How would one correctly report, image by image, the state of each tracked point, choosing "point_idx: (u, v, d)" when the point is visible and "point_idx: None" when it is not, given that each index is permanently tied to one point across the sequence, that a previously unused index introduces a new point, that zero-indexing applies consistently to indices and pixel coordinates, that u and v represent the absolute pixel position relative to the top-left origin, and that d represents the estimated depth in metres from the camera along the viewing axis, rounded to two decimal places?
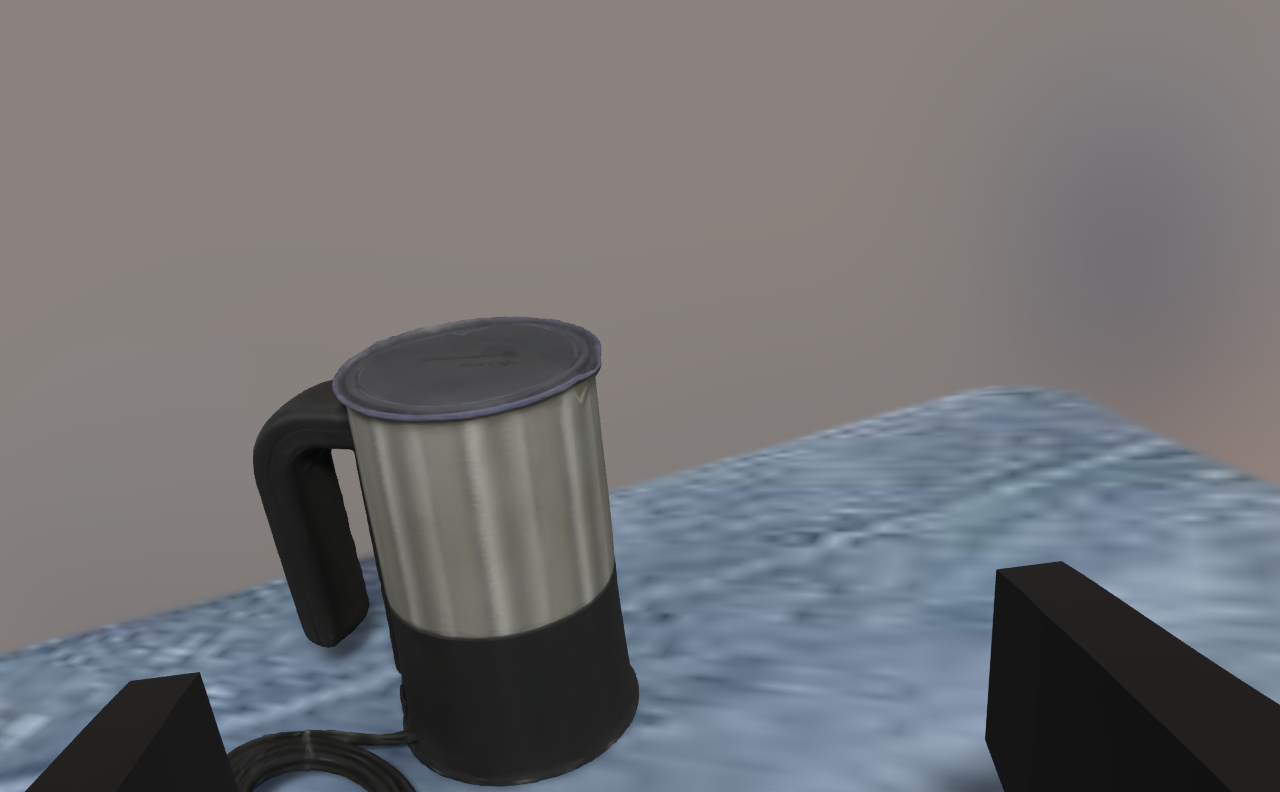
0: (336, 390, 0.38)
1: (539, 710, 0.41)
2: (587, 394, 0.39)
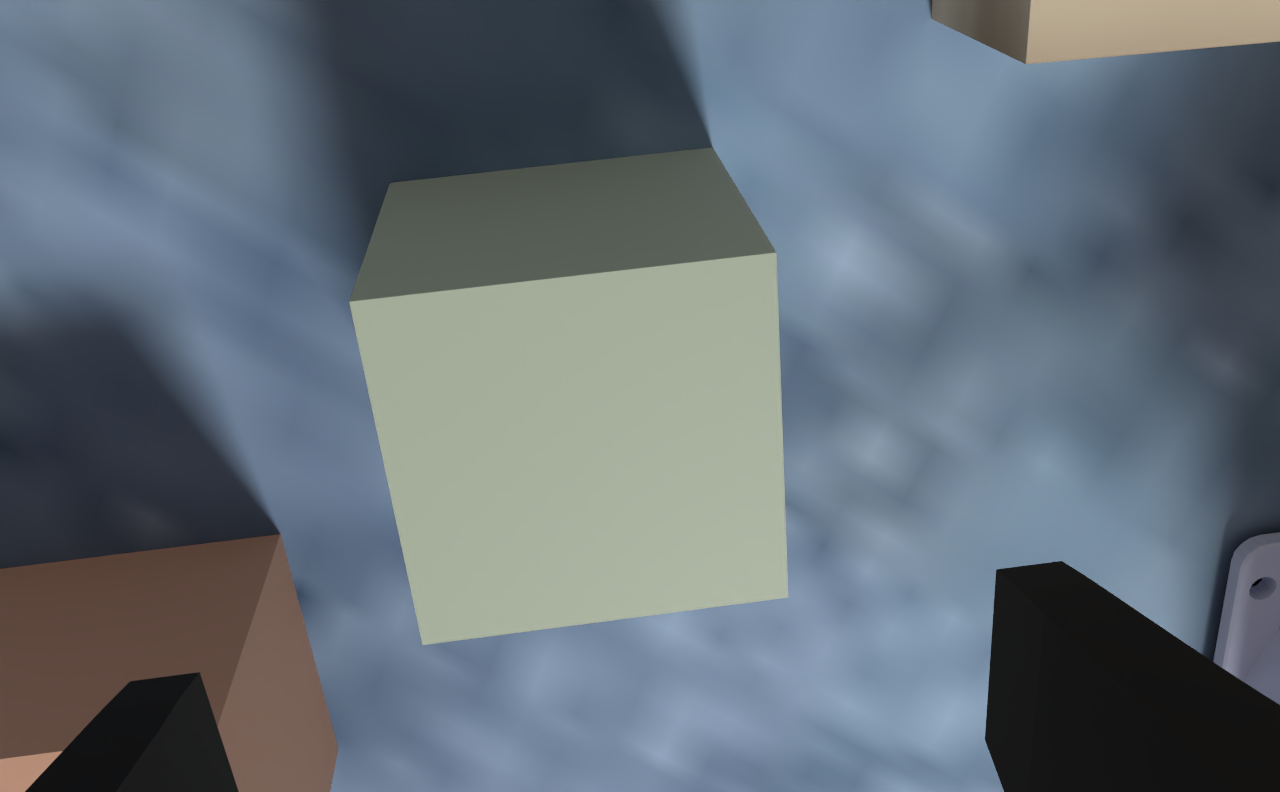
0: None
1: None
2: None
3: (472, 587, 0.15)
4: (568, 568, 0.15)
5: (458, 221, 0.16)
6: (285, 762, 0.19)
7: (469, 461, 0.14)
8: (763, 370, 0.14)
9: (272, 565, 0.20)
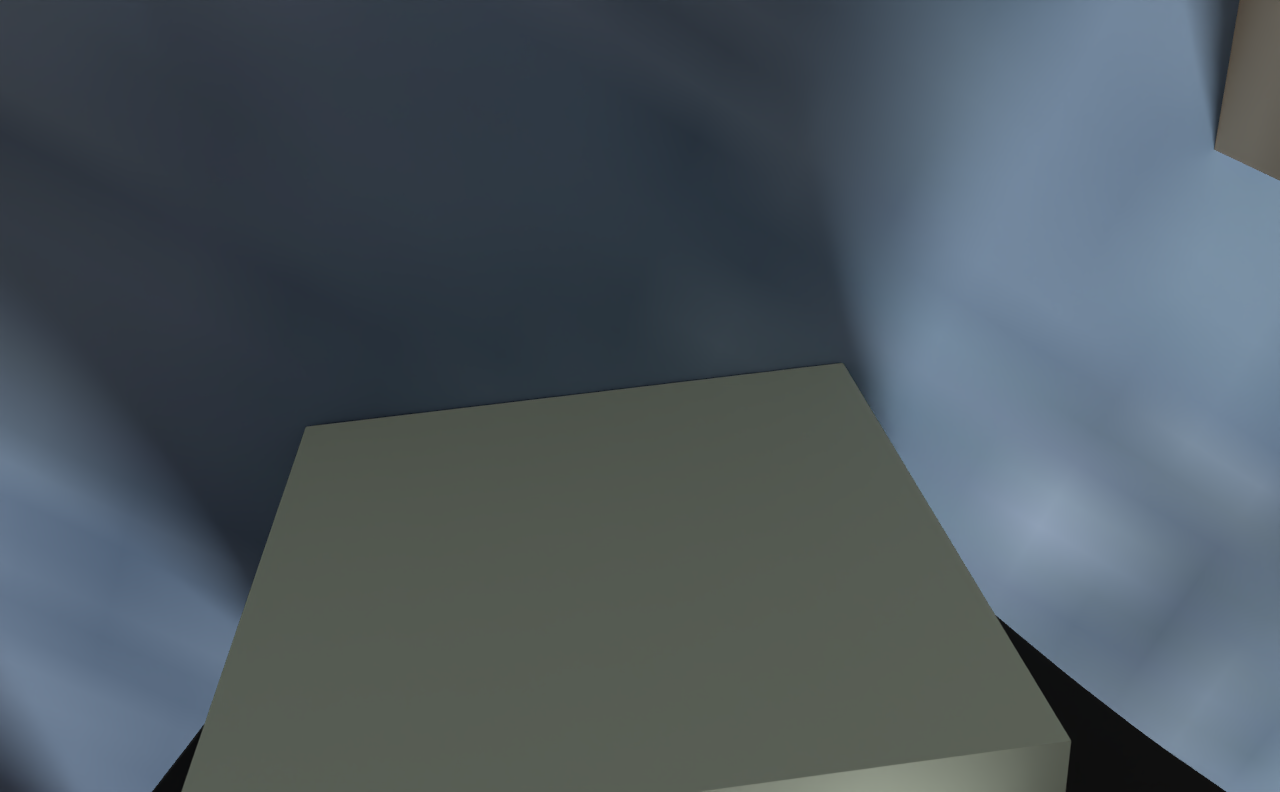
0: None
1: None
2: None
3: None
4: None
5: (410, 563, 0.09)
6: None
7: None
8: None
9: None
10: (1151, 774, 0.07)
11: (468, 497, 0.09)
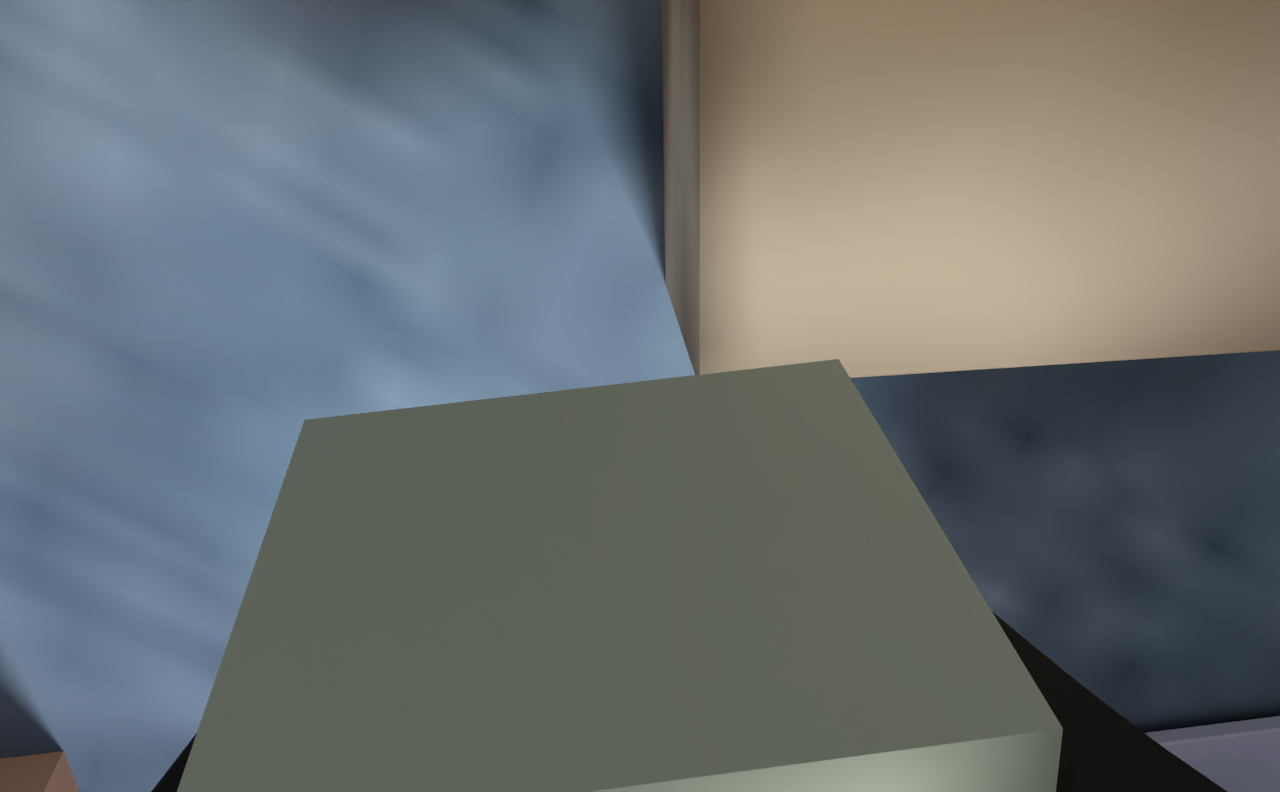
0: None
1: None
2: None
3: None
4: None
5: (408, 554, 0.09)
6: None
7: None
8: None
9: (47, 790, 0.20)
10: (1152, 774, 0.07)
11: (466, 489, 0.09)
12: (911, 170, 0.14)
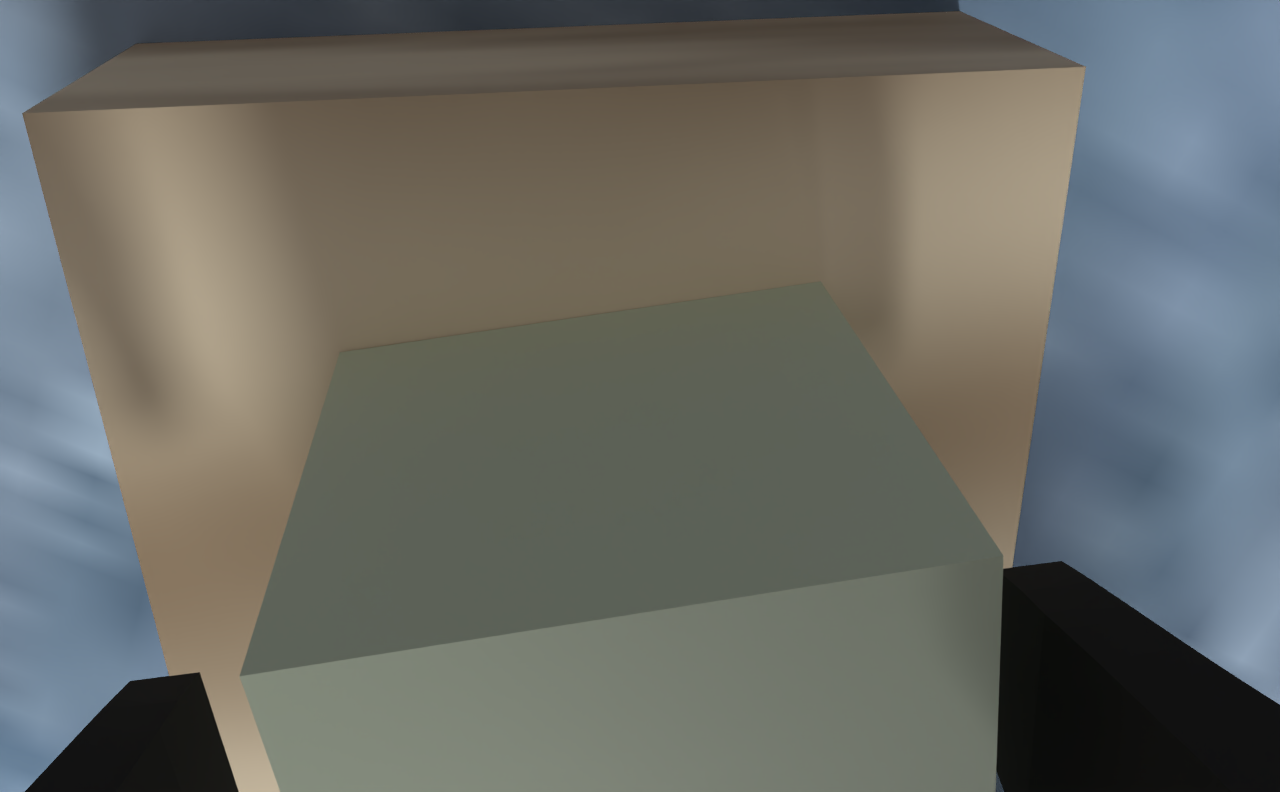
0: None
1: None
2: None
3: None
4: None
5: (438, 453, 0.10)
6: None
7: None
8: (968, 734, 0.08)
9: None
10: None
11: (487, 401, 0.11)
12: None
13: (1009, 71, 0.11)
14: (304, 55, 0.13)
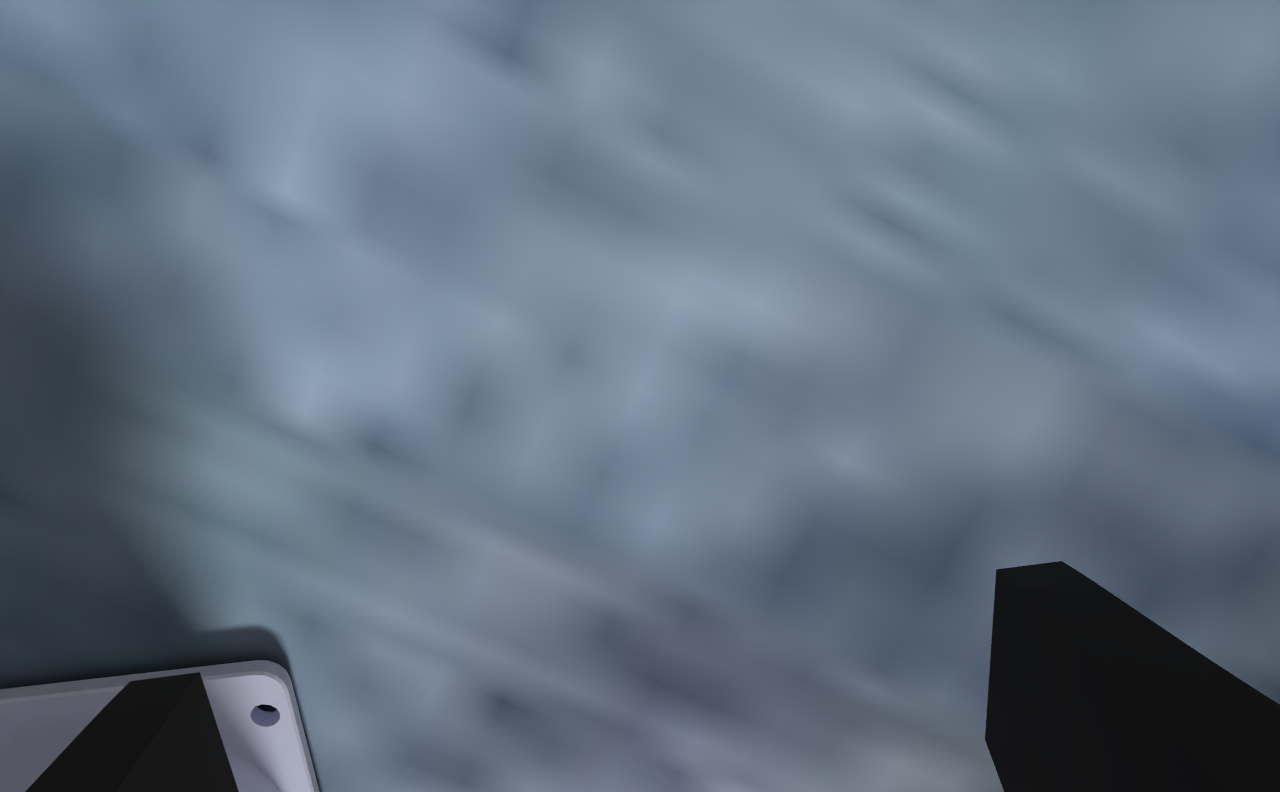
0: None
1: None
2: None
3: None
4: None
5: None
6: None
7: None
8: None
9: None
10: None
11: None
12: None
13: None
14: None
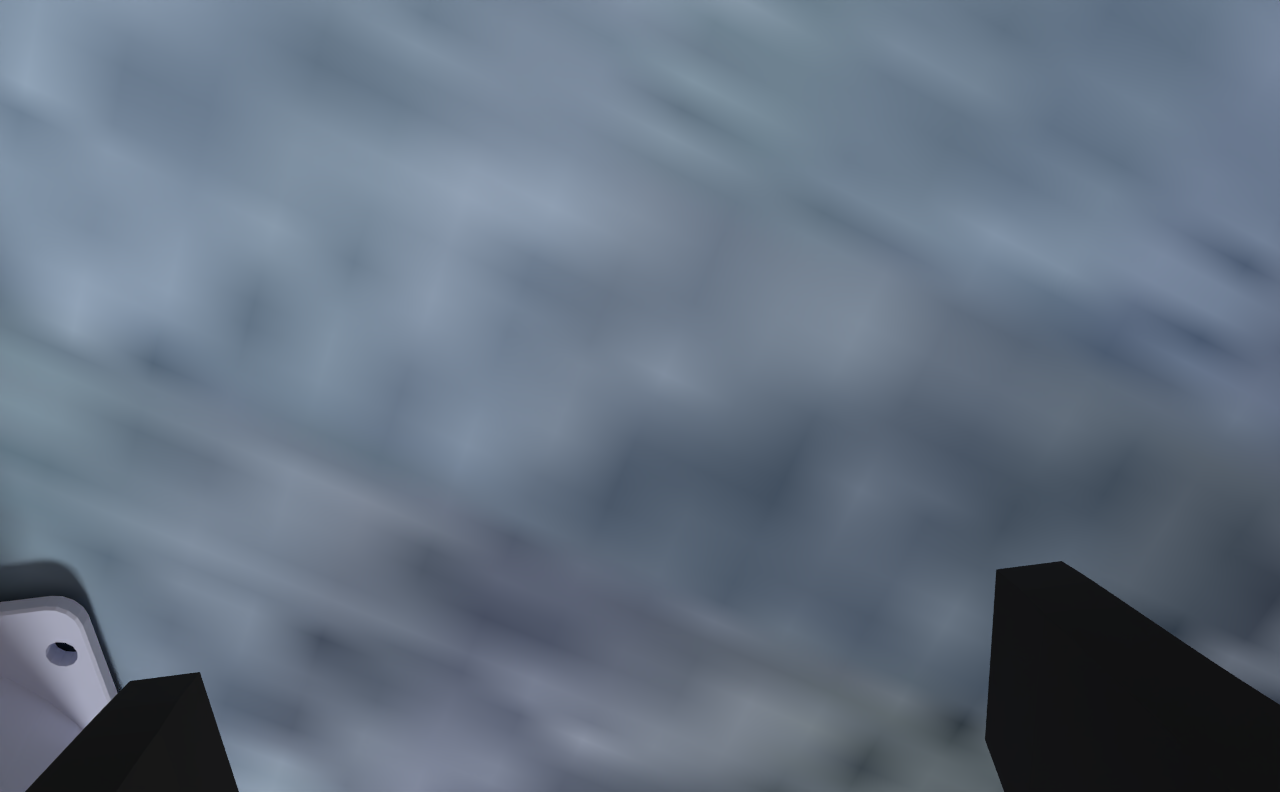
0: None
1: None
2: None
3: None
4: None
5: None
6: None
7: None
8: None
9: None
10: None
11: None
12: None
13: None
14: None
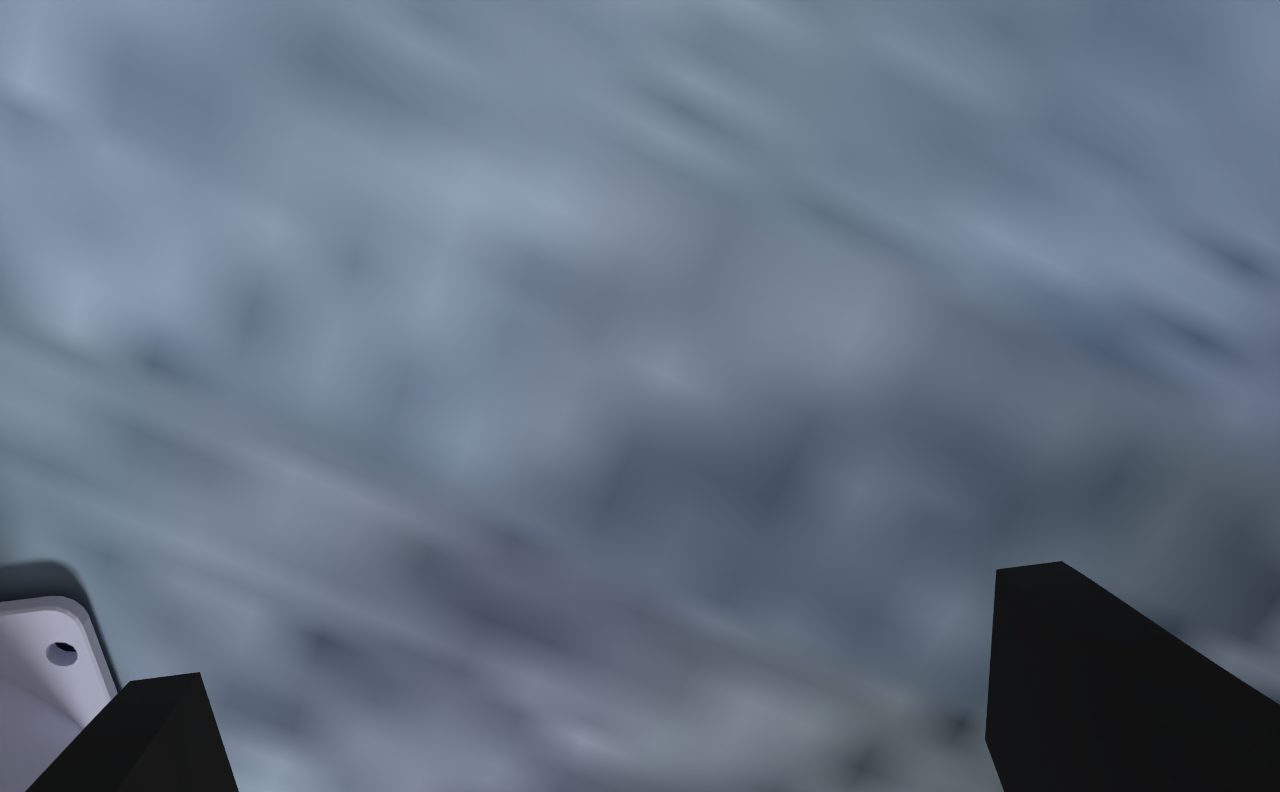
0: None
1: None
2: None
3: None
4: None
5: None
6: None
7: None
8: None
9: None
10: None
11: None
12: None
13: None
14: None
